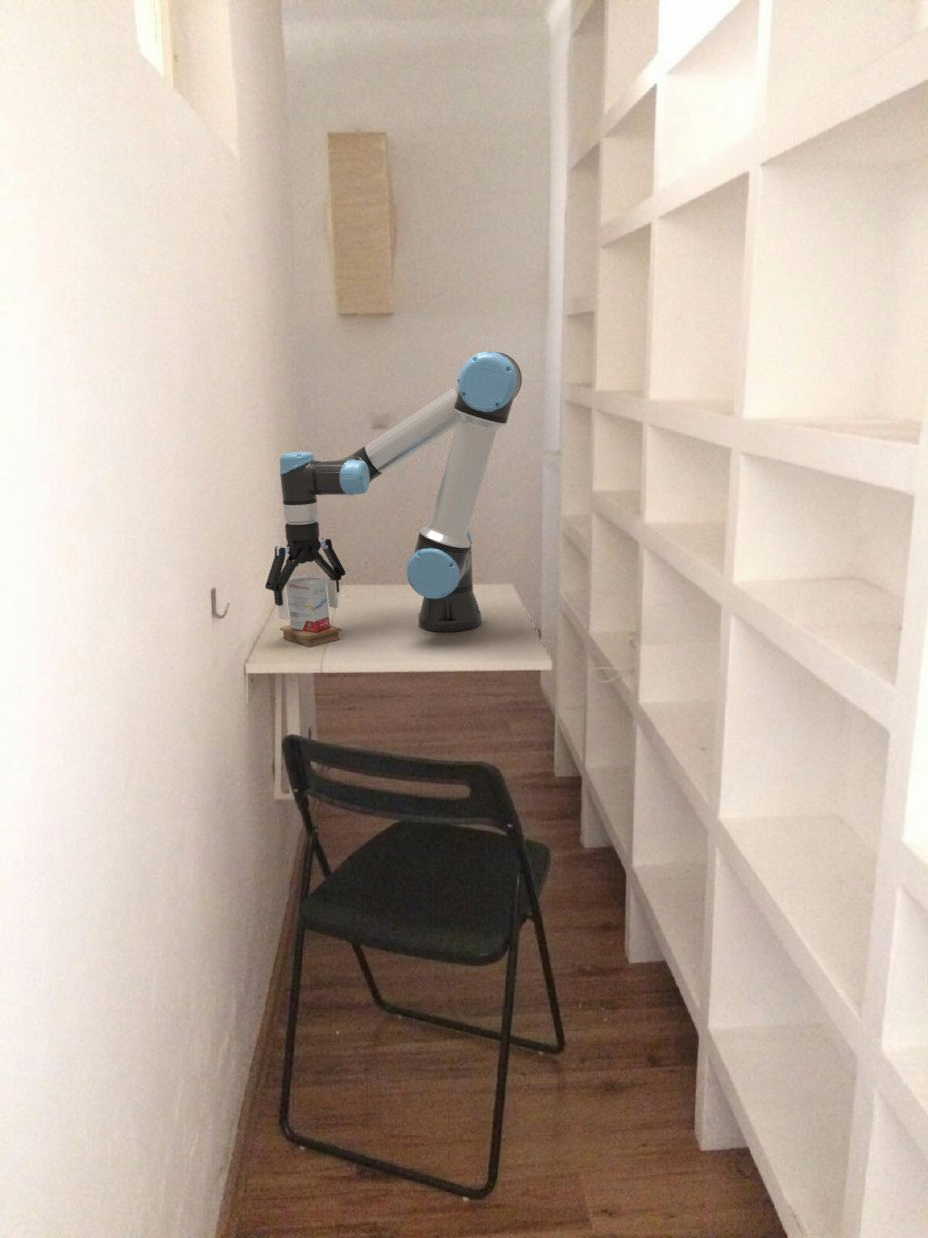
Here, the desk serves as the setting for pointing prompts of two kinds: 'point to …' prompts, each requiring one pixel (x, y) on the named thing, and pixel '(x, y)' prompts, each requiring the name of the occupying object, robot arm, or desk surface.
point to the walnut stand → (311, 635)
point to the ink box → (308, 604)
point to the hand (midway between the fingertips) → (309, 612)
